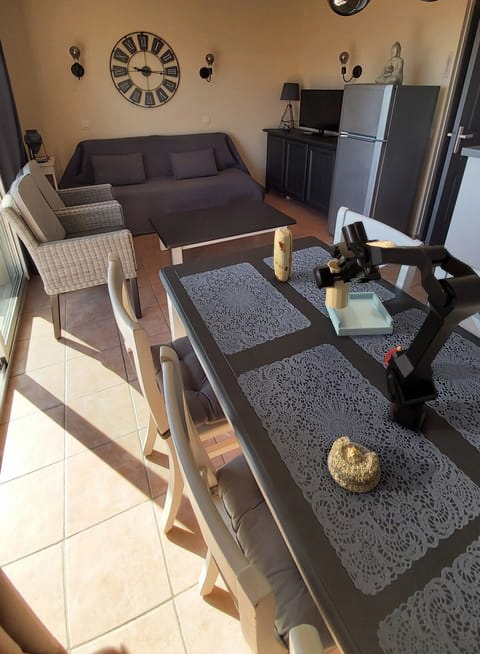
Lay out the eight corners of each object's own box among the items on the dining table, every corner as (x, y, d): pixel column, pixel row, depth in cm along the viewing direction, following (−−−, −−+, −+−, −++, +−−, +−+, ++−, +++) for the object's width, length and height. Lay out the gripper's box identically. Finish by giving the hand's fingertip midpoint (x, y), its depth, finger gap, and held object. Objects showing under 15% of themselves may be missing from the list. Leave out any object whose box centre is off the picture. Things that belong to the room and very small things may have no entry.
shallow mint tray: (391, 334, 106) (394, 321, 105) (337, 335, 106) (339, 323, 104) (372, 303, 121) (374, 291, 119) (325, 304, 121) (326, 293, 119)
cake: (373, 506, 65) (376, 489, 62) (320, 477, 69) (320, 461, 67) (385, 456, 72) (388, 439, 69) (336, 434, 77) (337, 418, 74)
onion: (409, 382, 89) (415, 357, 86) (385, 379, 91) (389, 354, 87) (404, 365, 95) (409, 341, 92) (381, 362, 96) (385, 338, 93)
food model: (271, 272, 142) (271, 225, 134) (288, 271, 143) (289, 224, 135) (275, 285, 133) (276, 235, 125) (293, 283, 134) (295, 234, 126)
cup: (326, 308, 107) (328, 270, 102) (325, 296, 114) (327, 259, 108) (349, 309, 106) (353, 270, 101) (347, 297, 112) (350, 259, 107)
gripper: (381, 233, 99) (357, 253, 113) (317, 241, 95) (300, 260, 110) (394, 272, 95) (367, 287, 109) (328, 282, 91) (309, 296, 106)
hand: (336, 281), depth 109 cm, fingers closed on cup, 7 cm apart
